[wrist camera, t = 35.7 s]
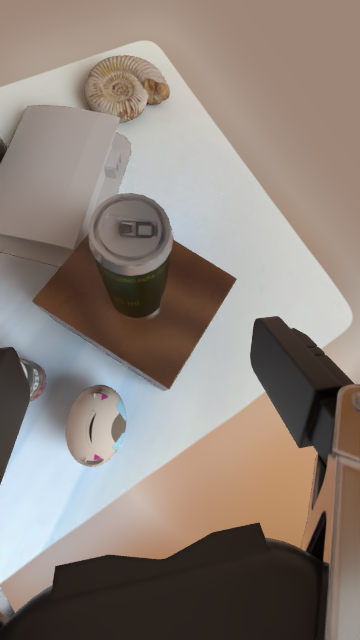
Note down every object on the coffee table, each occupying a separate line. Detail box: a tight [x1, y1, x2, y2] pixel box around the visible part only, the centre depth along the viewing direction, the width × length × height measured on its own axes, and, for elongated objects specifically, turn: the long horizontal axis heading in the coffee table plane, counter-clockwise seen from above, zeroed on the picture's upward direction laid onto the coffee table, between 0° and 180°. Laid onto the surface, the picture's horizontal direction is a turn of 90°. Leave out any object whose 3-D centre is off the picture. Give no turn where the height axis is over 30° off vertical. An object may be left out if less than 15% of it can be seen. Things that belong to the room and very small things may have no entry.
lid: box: [33, 233, 237, 389], centre depth 30 cm, size 13×16×1 cm
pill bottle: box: [19, 358, 46, 402], centre depth 30 cm, size 5×5×8 cm
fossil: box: [84, 55, 170, 122], centre depth 45 cm, size 12×5×10 cm
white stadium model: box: [0, 105, 131, 267], centre depth 39 cm, size 15×23×4 cm, turn 167°
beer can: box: [88, 193, 173, 318], centre depth 24 cm, size 5×5×12 cm
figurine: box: [66, 385, 126, 467], centre depth 31 cm, size 8×6×7 cm
